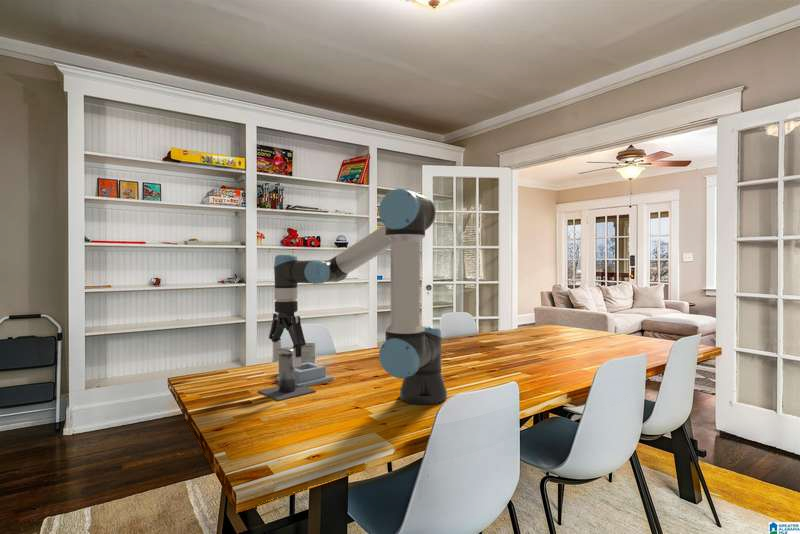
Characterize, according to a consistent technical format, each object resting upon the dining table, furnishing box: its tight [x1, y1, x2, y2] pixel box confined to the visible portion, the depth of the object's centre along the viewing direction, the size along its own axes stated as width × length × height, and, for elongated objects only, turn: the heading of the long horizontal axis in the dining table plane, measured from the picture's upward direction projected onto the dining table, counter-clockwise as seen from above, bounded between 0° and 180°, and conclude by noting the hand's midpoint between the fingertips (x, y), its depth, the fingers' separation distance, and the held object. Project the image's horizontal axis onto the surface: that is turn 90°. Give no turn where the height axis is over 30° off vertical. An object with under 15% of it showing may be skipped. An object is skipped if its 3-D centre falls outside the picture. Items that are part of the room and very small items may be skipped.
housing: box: [275, 362, 334, 387], centre depth 161 cm, size 15×15×5 cm
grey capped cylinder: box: [277, 346, 295, 393], centre depth 147 cm, size 6×6×14 cm
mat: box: [257, 385, 317, 402], centre depth 147 cm, size 14×14×1 cm
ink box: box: [292, 340, 317, 364], centre depth 175 cm, size 9×5×12 cm, turn 92°
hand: (286, 363), depth 147 cm, fingers open, 13 cm apart
